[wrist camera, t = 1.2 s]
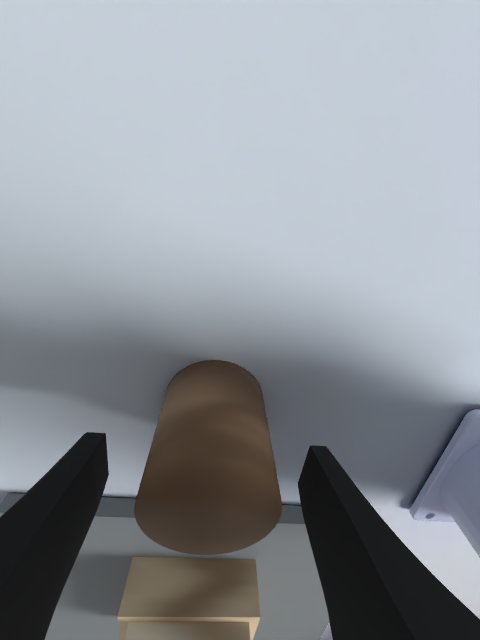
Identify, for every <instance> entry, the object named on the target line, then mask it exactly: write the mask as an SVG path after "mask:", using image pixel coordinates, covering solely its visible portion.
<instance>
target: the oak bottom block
mask: <svg viewBox="0 0 480 640" xmlns="http://www.w3.org/2000/svg"><path fill="white" fill-rule="evenodd" d="M259 620H260V606H259V593H258V581H257V569H256V560H247V559H206V558H165V557H132V561H131V565H130V569H129V573H128V577H127V581H126V585H125V589H124V593H123V597H122V601H121V605H120V609H119V613H118V629H119V640H125V635H126V631H127V626H128V622H249V627H250V640H253V638H254V635H255V632H256V629H257V626H258V623H259Z"/></svg>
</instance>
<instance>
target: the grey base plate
mask: <svg viewBox="0 0 480 640" xmlns="http://www.w3.org/2000/svg"><path fill="white" fill-rule="evenodd" d="M24 495H25V494H19V493H8V495H7V496H6V498H5V499H4V500H3V502H2V503H1V505H0V517H1V516H2V515H3V514H4V513H5V512H6V511H7V510H8V509H9V508H11V507H12V506H13V505H14V504H15V503H16V502H17V501H18V500H19V499H20V498H21V497H23V496H24ZM135 502H136V499H134V498H111V497H102V498H101V501H100V504H99V507H98V509H97V512H96V514H95V516H94V519H93V521H92V523H91V526H90V528H89V531H88V533H87V535H86V538H85V540H84V542H83V544H82V547H81V549H80V551H79V554H78V556H77V558H76V561H75V563H74V565H73V568H72V570H71V572H70V575H69V577H68V579H67V581H66V584H65V586H64V588H63V591H62V593H61V596H60V598H59V601H58V603H57V606H56V609H55V611H54V614H53V617H52V620H51V623H50V625H49V628H48V631H47V634H46V637H45V640H119V629H118V613H119V609H120V605H121V601H122V597H123V593H124V589H125V585H126V581H127V577H128V573H129V569H130V565H131V561H132V557H165V558H206V559H247V560H256V569H257V581H258V593H259V606H260V620H259V623H258V626H257V629H256V632H255V635H254V638H253V640H319V639H320V637H321V635H322V633H323V632H324V630H325V628H326V626H327V624H328V622H329V616H328V611H327V606H326V602H325V598H324V593H323V589H322V586H321V582H320V578H319V574H318V571H317V567H316V563H315V559H314V556H313V552H312V548H311V545H310V541H309V537H308V533H307V529H306V525H305V522H304V518H303V513H302V507H301V506H296V505H282V513H281V517H280V519H279V522H278V523H277V525H276V526H275V528H274V529H273V530H272V531H271V532H270V533H269V534H268V535H267V536H266V537H265V538H263V539H262V540H260V541H259V542H257V543H255V544H253V545H251V546H249V547H247V548H244V549H241V550H238V551H234V552H230V553H225V554H218V555H193V554H186V553H181V552H177V551H174V550H171V549H168V548H166V547H163V546H161V545H159V544H157V543H156V542H154V541H153V540H151V539H150V538H149V537H147V536H146V535H145V534H144V533H143V531H142V530H141V529H140V527H139V526H138V524H137V522H136V519H135V514H134V506H135Z"/></svg>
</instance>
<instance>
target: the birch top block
mask: <svg viewBox="0 0 480 640" xmlns="http://www.w3.org/2000/svg"><path fill="white" fill-rule="evenodd" d="M125 640H250V627H249V622H128V626H127V631H126V635H125Z"/></svg>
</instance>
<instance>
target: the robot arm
mask: <svg viewBox="0 0 480 640" xmlns="http://www.w3.org/2000/svg"><path fill="white" fill-rule="evenodd" d="M108 475H109V473H108V460H107V446H106V433H91V432H87V433H85V434H84V435H83V436H82V437H81V438H80V439H79V440H78V441H77V442H76V443H75V444H74V445H73V447H72V448H71V449H70V450H69V451H68V452H67V453H66V454H65V455H64V456H63V457H62V458H61V459H60V460H59V461H58V462H57V463H56V464H55V465H54V466H53V467H52V468H51V469H50V470H49V471H48V472H47V473H46V474H45V475H44V476H43V477H42V478H41V479H40V480H39V481H38V482H37V483H36V484H35V485H34V486H33V487H32V488H31V489H30V490H29V491H28V492H27V493H26V494H25V495H24V496H23V497H21V498H20V499H19V500H18V501H17V502H16V503H15V504H14V505H13V506H12V507H11V508H9V509H8V510H7V511H6V512H5V513H4V514H3V515H2V516H1V517H0V640H45V637H46V634H47V631H48V628H49V625H50V623H51V620H52V617H53V614H54V611H55V609H56V606H57V603H58V601H59V598H60V596H61V593H62V591H63V588H64V586H65V584H66V581H67V579H68V577H69V575H70V572H71V570H72V568H73V565H74V563H75V561H76V558H77V556H78V554H79V551H80V549H81V547H82V544H83V542H84V540H85V538H86V535H87V533H88V531H89V528H90V526H91V523H92V521H93V519H94V516H95V514H96V512H97V509H98V507H99V504H100V501H101V498H102V494H103V491H104V488H105V485H106V482H107V478H108ZM298 488H299V495H300V501H301V507H302V513H303V518H304V522H305V525H306V529H307V533H308V537H309V541H310V545H311V548H312V552H313V556H314V559H315V563H316V567H317V571H318V574H319V578H320V582H321V586H322V589H323V593H324V598H325V602H326V606H327V611H328V616H329V621H330V626H331V632H332V637H333V640H480V619H479V618H478V617H476V616H475V615H474V614H473V613H472V612H471V611H470V610H469V609H468V608H467V607H466V606H465V605H464V604H463V603H462V602H461V601H460V600H459V599H457V598H456V597H455V596H454V595H453V594H452V593H451V592H450V591H449V590H448V589H447V588H446V587H445V586H444V585H443V584H442V583H441V582H440V581H439V580H438V579H437V578H436V577H435V576H434V575H433V574H432V573H431V572H430V571H429V570H428V569H427V568H426V567H425V566H424V565H423V564H422V563H421V562H420V561H419V560H418V558H417V557H416V556H415V555H414V554H413V553H412V552H411V551H410V550H409V549H408V548H407V547H406V546H405V545H404V543H403V542H402V541H401V540H400V539H399V538H398V537H397V536H396V534H395V533H394V532H393V531H392V530H391V529H390V527H389V526H388V525H387V524H386V523H385V522H384V520H383V519H382V518H381V517H380V516H379V514H378V513H377V512H376V511H375V509H374V508H373V507H372V506H371V504H370V503H369V502H368V501H367V499H366V498H365V497H364V496H363V494H362V493H361V492H360V491H359V489H358V488H357V487H356V485H355V484H354V483H353V481H352V480H351V479H350V478H349V476H348V475H347V474H346V472H345V471H344V470H343V468H342V467H341V466H340V464H339V463H338V461H337V460H336V459H335V457H334V456H333V455H332V453H331V452H330V451H329V449H328V448H327V447H326V446H310V447H309V451H308V454H307V457H306V460H305V463H304V466H303V469H302V472H301V475H300V478H299V481H298ZM410 514H411V515H412V517H413V519H415V520H418V521H442V522H456V523H457V525H458V526H459V528H460V529H461V531H462V532H463V534H464V535H465V537H466V538H467V539H468V541H469V542H470V544H471V545H472V547H473V548H474V550H475V551H476V553H477V554H478V556H479V557H480V409H475V410H472V411H470V412H468V413H467V414H466V415H465V417H464V419H463V420H462V422H461V424H460V425H459V427H458V429H457V430H456V432H455V434H454V436H453V437H452V439H451V441H450V442H449V444H448V446H447V447H446V449H445V451H444V452H443V454H442V456H441V458H440V459H439V461H438V463H437V464H436V466H435V468H434V469H433V471H432V473H431V474H430V476H429V478H428V479H427V481H426V483H425V485H424V486H423V488H422V490H421V491H420V493H419V495H418V496H417V498H416V500H415V501H414V503H413V505H412V506H411V508H410Z"/></svg>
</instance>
